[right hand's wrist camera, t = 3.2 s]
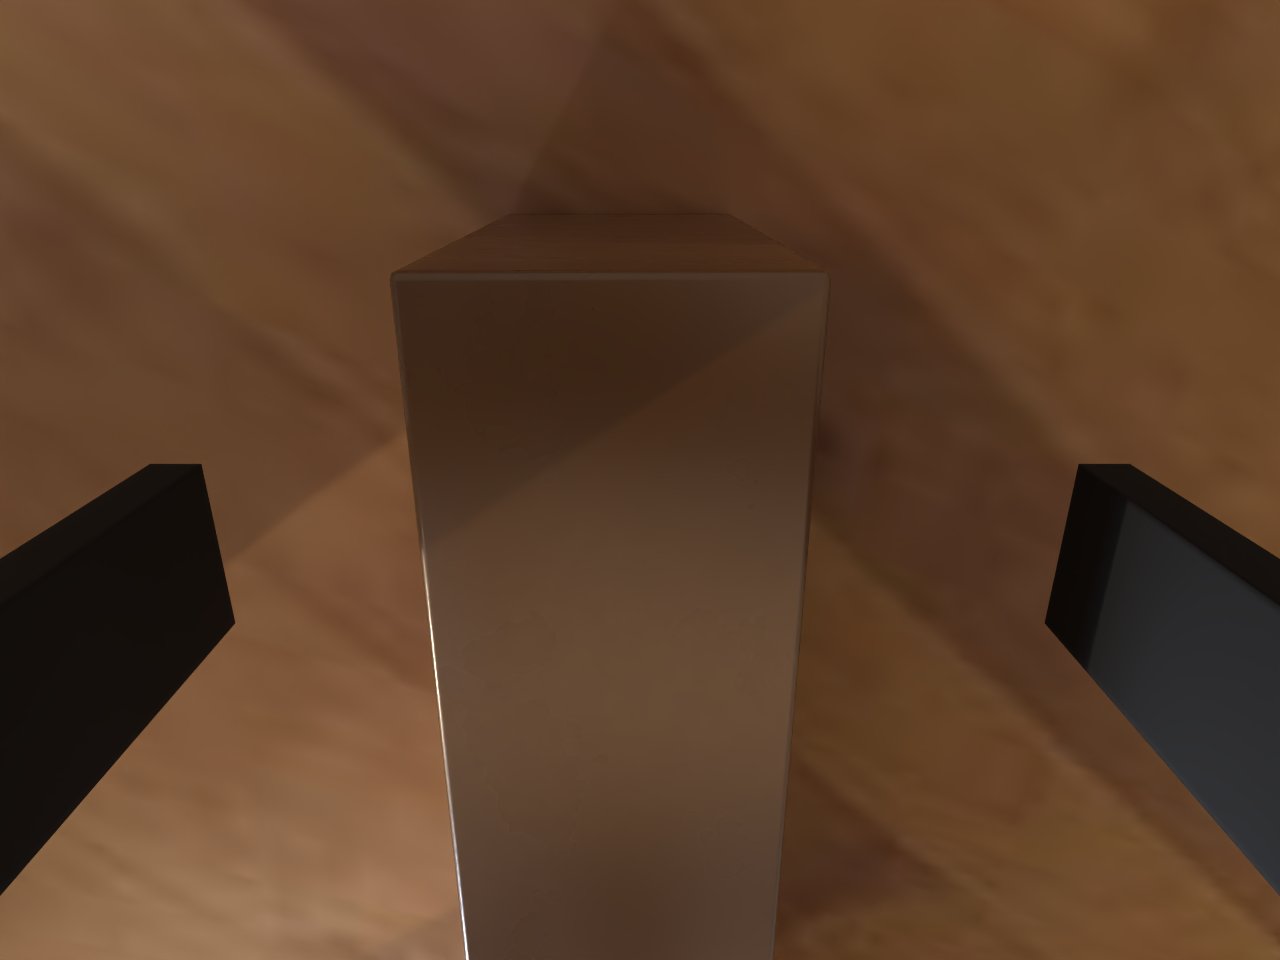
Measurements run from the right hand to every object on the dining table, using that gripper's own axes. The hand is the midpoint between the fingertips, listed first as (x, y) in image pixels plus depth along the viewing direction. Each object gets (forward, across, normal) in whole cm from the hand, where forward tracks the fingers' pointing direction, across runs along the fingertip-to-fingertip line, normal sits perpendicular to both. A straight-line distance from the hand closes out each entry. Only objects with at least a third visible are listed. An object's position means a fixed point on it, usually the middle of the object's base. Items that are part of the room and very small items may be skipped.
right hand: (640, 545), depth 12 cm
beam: (+6, 0, -23) cm, 23 cm away
